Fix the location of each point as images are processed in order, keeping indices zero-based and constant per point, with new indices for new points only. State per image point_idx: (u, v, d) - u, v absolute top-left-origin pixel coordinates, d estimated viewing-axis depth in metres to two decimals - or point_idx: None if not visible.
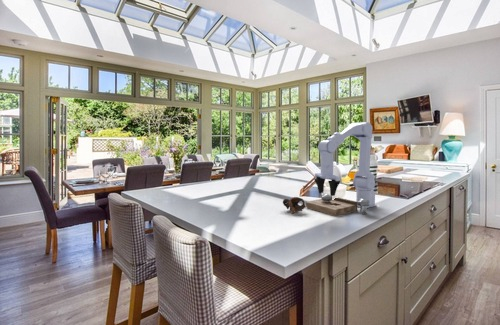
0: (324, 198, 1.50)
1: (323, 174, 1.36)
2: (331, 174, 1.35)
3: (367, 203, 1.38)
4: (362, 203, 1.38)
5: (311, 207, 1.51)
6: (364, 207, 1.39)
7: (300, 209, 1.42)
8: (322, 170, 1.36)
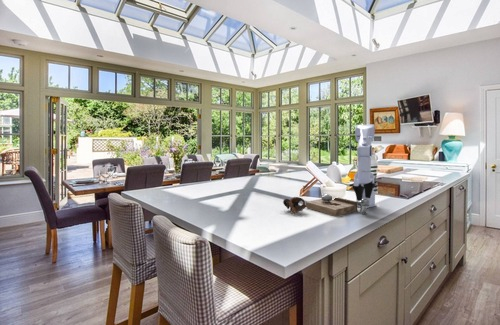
0: (324, 198, 1.50)
1: None
2: (361, 179, 1.37)
3: (367, 203, 1.38)
4: (362, 203, 1.38)
5: (311, 207, 1.51)
6: (364, 207, 1.39)
7: (300, 209, 1.42)
8: None
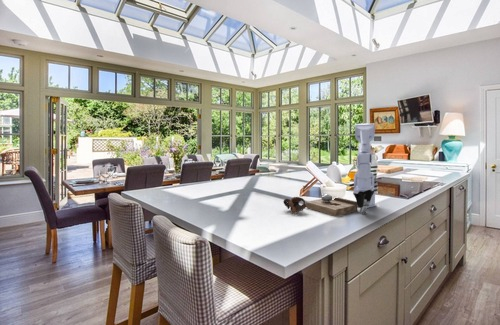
0: (324, 198, 1.50)
1: None
2: (361, 186, 1.37)
3: (367, 203, 1.38)
4: None
5: (311, 207, 1.51)
6: (364, 207, 1.39)
7: (301, 209, 1.42)
8: None
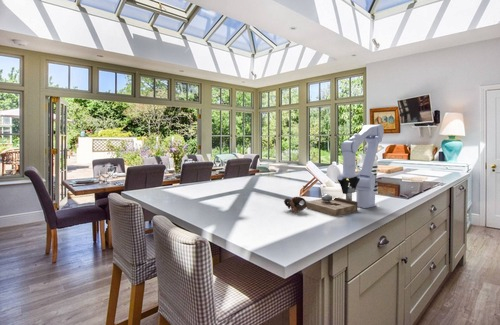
0: (324, 198, 1.50)
1: None
2: (345, 173, 1.41)
3: (352, 190, 1.40)
4: None
5: (311, 207, 1.51)
6: (349, 194, 1.42)
7: (301, 209, 1.43)
8: None
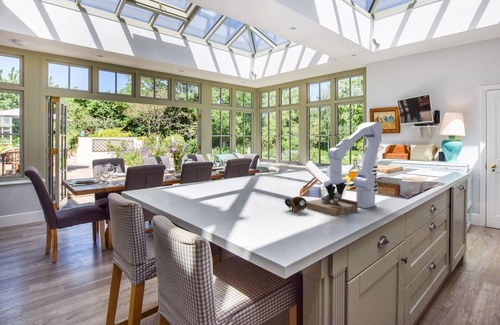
0: (324, 198, 1.50)
1: None
2: (331, 180, 1.44)
3: (338, 196, 1.44)
4: None
5: (311, 207, 1.51)
6: (336, 199, 1.46)
7: (302, 208, 1.43)
8: None
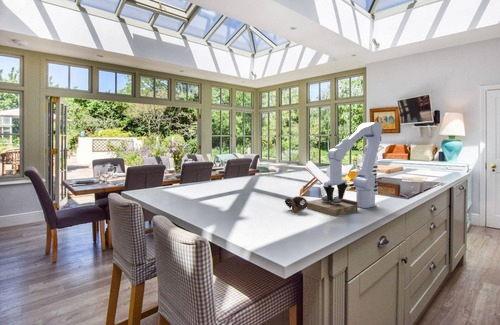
0: (324, 198, 1.50)
1: None
2: (331, 180, 1.44)
3: (338, 200, 1.44)
4: (333, 200, 1.45)
5: (311, 207, 1.51)
6: (335, 204, 1.46)
7: (302, 208, 1.43)
8: None
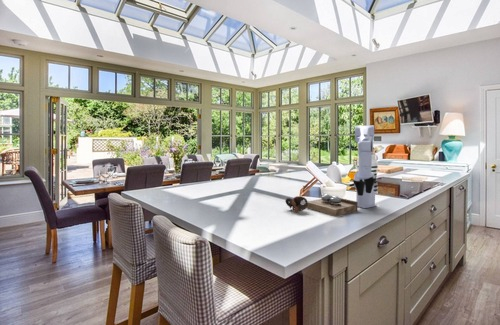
0: (324, 198, 1.50)
1: None
2: (362, 174, 1.37)
3: (338, 200, 1.44)
4: (333, 200, 1.45)
5: (311, 207, 1.51)
6: (335, 204, 1.46)
7: (303, 208, 1.44)
8: None
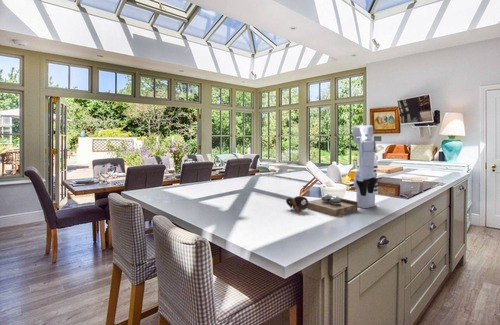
0: (324, 198, 1.50)
1: None
2: (364, 174, 1.36)
3: (338, 200, 1.44)
4: (333, 200, 1.45)
5: (311, 207, 1.51)
6: (335, 204, 1.46)
7: (304, 208, 1.44)
8: None
